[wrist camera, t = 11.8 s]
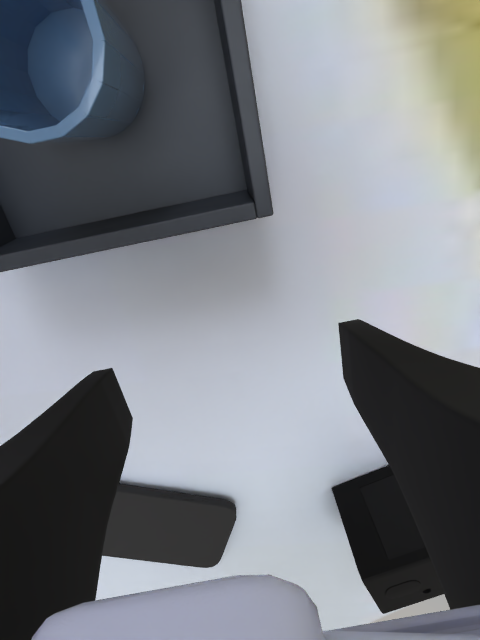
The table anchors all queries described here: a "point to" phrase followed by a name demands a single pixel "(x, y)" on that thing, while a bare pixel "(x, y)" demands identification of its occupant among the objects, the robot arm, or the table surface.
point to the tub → (148, 147)
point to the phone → (168, 527)
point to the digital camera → (386, 541)
